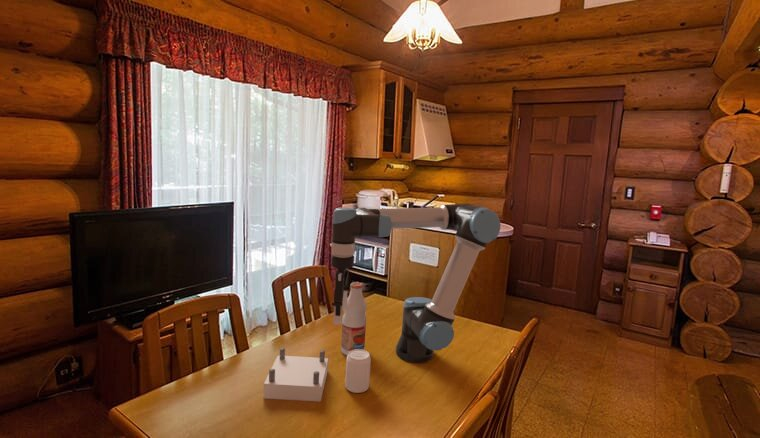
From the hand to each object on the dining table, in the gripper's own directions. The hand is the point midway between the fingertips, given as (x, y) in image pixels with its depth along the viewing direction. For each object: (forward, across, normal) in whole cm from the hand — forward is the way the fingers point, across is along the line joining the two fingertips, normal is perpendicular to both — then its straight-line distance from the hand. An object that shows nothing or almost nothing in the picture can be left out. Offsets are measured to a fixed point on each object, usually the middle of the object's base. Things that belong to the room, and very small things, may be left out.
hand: (340, 315), depth 134 cm
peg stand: (+23, +4, -13) cm, 27 cm away
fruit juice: (+24, -22, +3) cm, 32 cm away
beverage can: (+24, +3, +7) cm, 25 cm away
